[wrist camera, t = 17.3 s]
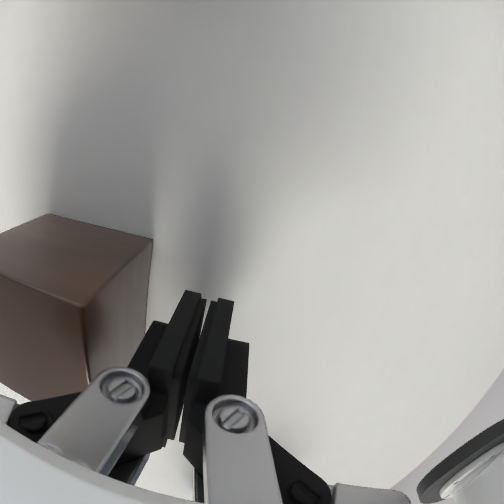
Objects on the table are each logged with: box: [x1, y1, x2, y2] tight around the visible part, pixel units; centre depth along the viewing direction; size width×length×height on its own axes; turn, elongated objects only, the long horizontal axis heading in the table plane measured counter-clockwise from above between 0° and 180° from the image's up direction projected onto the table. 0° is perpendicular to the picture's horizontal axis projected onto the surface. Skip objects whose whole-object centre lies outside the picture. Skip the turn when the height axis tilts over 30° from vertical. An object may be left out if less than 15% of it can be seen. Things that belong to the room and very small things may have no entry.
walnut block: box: [0, 214, 153, 401], centre depth 9 cm, size 5×5×5 cm
